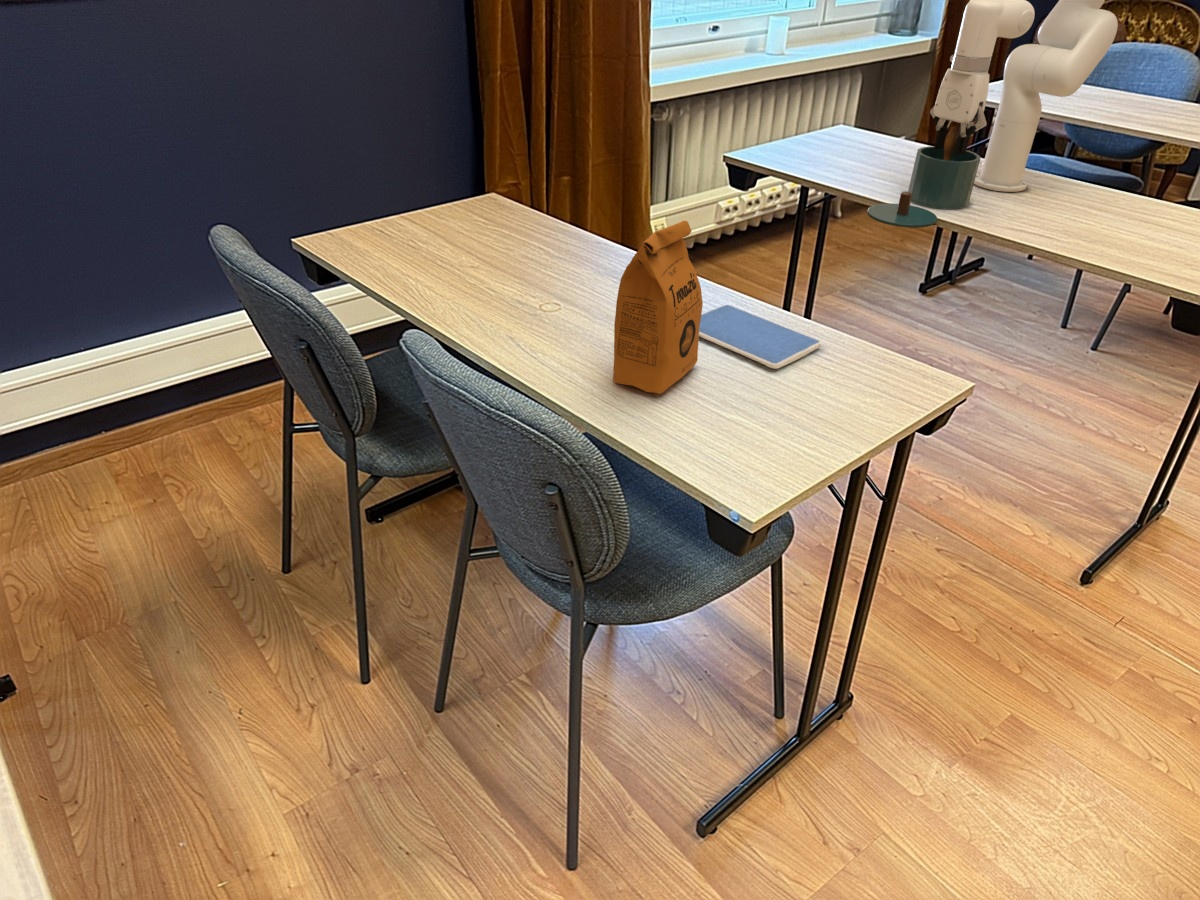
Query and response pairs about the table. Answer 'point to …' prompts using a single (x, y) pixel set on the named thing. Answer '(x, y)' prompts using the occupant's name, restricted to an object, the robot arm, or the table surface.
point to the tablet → (755, 336)
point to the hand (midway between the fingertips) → (949, 150)
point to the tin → (943, 178)
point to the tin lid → (902, 213)
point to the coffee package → (657, 313)
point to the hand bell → (950, 143)
